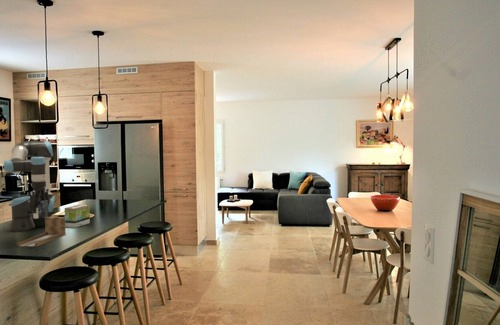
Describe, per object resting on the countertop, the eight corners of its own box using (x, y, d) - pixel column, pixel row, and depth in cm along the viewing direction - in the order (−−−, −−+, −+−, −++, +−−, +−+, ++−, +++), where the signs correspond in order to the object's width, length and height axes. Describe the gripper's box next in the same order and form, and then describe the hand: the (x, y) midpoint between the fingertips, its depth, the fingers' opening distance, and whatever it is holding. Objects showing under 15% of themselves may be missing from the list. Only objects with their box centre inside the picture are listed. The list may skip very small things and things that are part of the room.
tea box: (76, 228, 235) (75, 208, 234) (64, 227, 237) (63, 207, 236) (90, 223, 250) (89, 204, 249) (79, 222, 252) (78, 204, 251)
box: (31, 218, 200) (30, 201, 200) (35, 216, 206) (34, 200, 205) (45, 217, 202) (44, 201, 201) (48, 216, 207) (48, 199, 207)
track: (17, 246, 193) (16, 226, 193) (47, 234, 219) (46, 216, 218) (37, 246, 192) (36, 226, 192) (65, 234, 218) (64, 217, 217)
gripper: (32, 182, 193) (34, 220, 194) (55, 179, 212) (56, 213, 213) (20, 182, 193) (22, 220, 194) (44, 179, 213) (45, 213, 214)
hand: (40, 216), depth 204 cm, fingers closed on box, 7 cm apart
